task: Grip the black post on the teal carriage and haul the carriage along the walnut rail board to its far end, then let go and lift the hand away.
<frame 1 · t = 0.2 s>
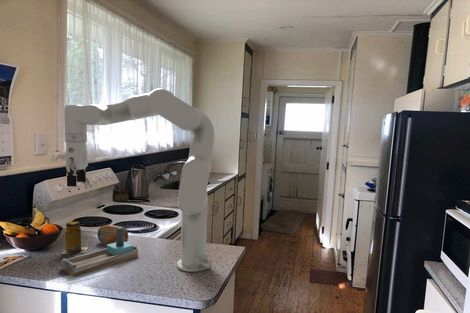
hand: (76, 184, 133), 31 cm above the counter, tool pointing down, fingers open, 9 cm apart
rail board: (101, 262, 137), on the counter
condiment: (75, 251, 148), on the counter
orange brown rounded block: (113, 244, 157), on the counter
carriage: (119, 240, 142), point 7 cm above the counter, slide at 0.0 cm
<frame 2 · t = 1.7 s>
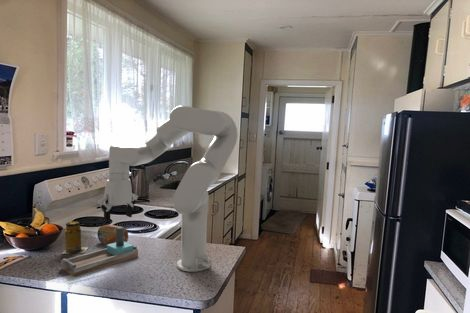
hand: (118, 218, 141), 16 cm above the counter, tool pointing down, fingers open, 9 cm apart
nothing on the counter moved.
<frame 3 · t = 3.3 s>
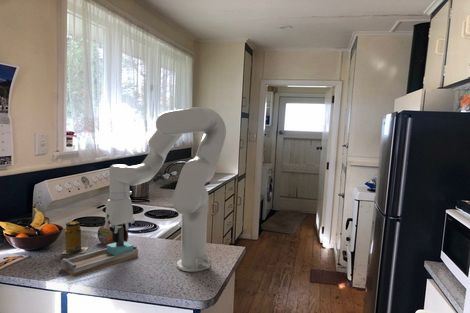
hand: (119, 240, 142), 7 cm above the counter, tool pointing down, fingers closed on carriage, 3 cm apart
carriage: (119, 240, 142), point 7 cm above the counter, slide at 0.0 cm, touching gripper
everything else where it was.
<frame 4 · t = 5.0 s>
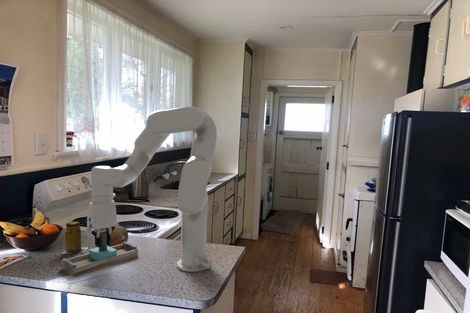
hand: (102, 244, 136), 7 cm above the counter, tool pointing down, fingers closed on carriage, 3 cm apart
carriage: (102, 244, 136), point 7 cm above the counter, slide at 7.4 cm, touching gripper
everything else where it was.
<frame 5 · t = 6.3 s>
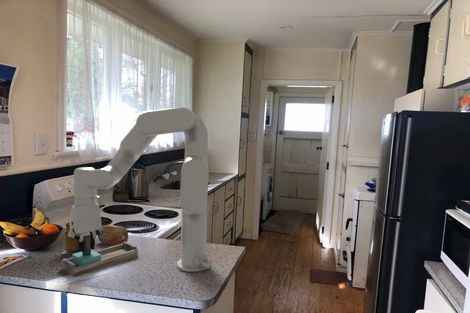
hand: (86, 249, 131), 7 cm above the counter, tool pointing down, fingers closed on carriage, 3 cm apart
carriage: (86, 249, 131), point 7 cm above the counter, slide at 13.9 cm, touching gripper
everything else where it was.
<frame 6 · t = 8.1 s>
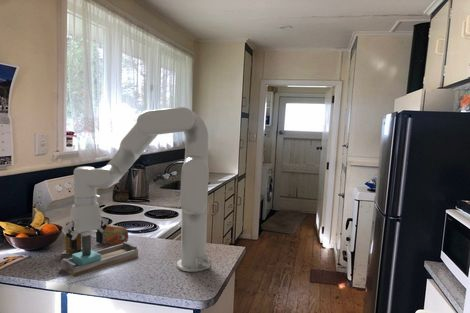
hand: (86, 245, 131), 8 cm above the counter, tool pointing down, fingers open, 9 cm apart
carriage: (86, 249, 131), point 7 cm above the counter, slide at 14.0 cm
everything else where it was.
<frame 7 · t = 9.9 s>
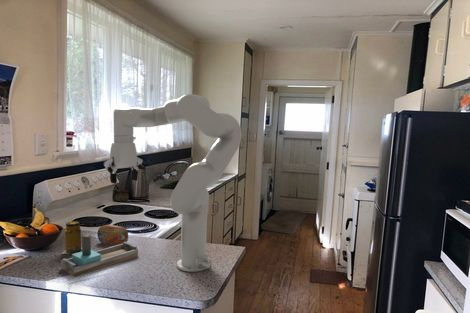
hand: (124, 181, 144), 30 cm above the counter, tool pointing down, fingers open, 9 cm apart
nothing on the counter moved.
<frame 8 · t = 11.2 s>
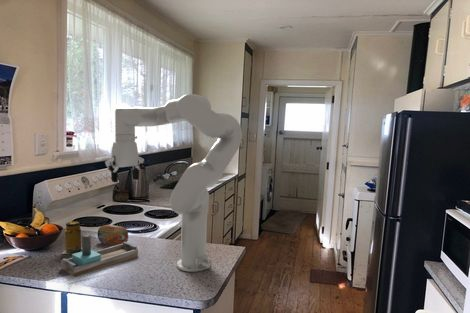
hand: (125, 180, 144), 30 cm above the counter, tool pointing down, fingers open, 9 cm apart
nothing on the counter moved.
at the end: carriage slide at 14.0 cm; the gripper is holding nothing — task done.
